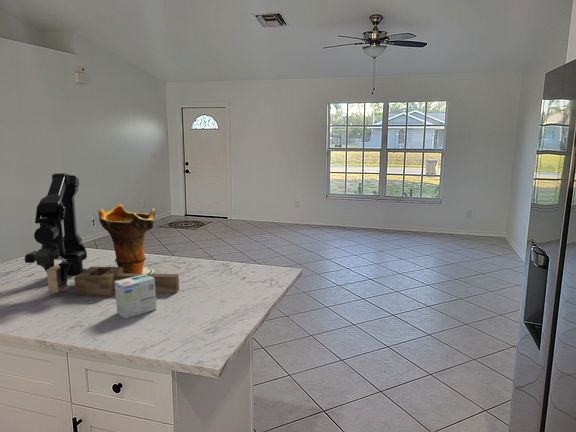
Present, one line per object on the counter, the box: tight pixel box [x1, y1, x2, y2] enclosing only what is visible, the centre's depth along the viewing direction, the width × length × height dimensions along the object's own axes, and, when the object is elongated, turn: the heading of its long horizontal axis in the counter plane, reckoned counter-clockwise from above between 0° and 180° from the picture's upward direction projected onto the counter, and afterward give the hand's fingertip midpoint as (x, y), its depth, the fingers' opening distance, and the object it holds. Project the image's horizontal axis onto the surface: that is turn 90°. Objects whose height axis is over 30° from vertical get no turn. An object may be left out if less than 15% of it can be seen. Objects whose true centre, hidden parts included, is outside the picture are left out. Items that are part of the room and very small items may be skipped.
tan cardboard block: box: [46, 264, 68, 293], centre depth 148 cm, size 6×4×8 cm, turn 178°
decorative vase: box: [98, 203, 156, 274], centre depth 170 cm, size 21×23×28 cm
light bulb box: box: [114, 274, 158, 320], centre depth 134 cm, size 11×7×11 cm, turn 135°
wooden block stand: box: [73, 266, 180, 298], centre depth 152 cm, size 12×34×7 cm, turn 88°
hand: (58, 280), depth 149 cm, fingers closed on tan cardboard block, 3 cm apart
